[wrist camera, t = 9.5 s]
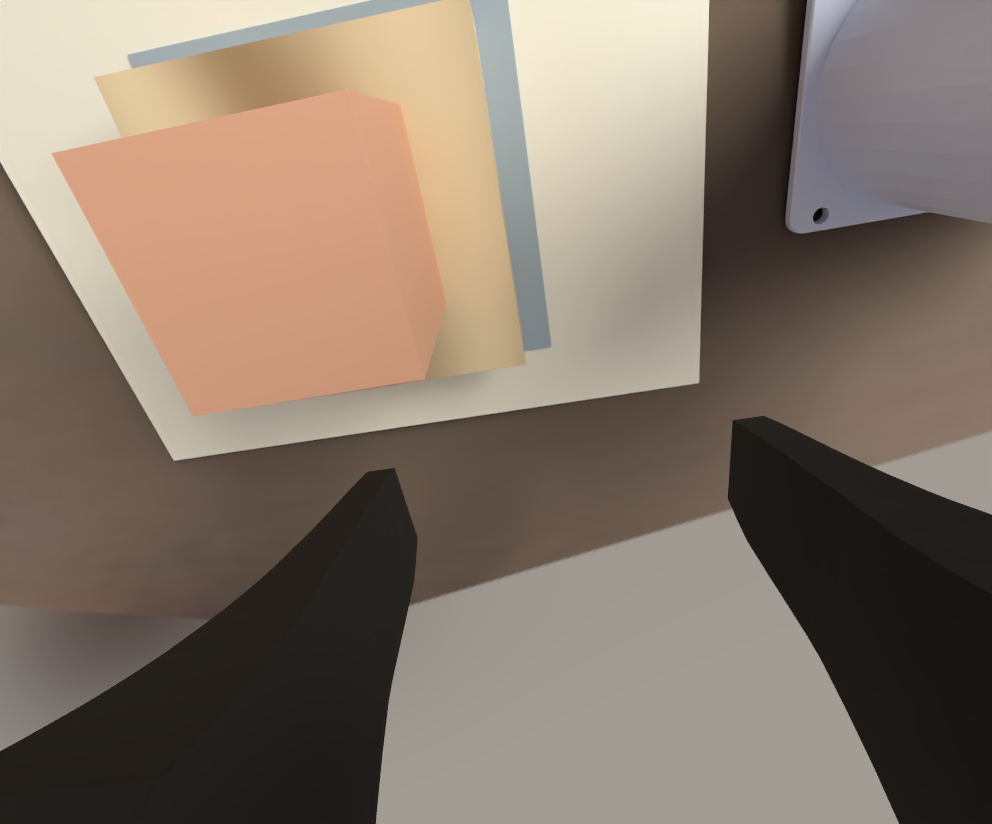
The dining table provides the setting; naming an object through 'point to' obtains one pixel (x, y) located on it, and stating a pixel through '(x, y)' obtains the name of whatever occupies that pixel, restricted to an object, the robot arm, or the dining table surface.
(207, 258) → the terracotta cube
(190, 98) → the oak base brick
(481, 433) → the dining table surface
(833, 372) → the dining table surface
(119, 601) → the dining table surface
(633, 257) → the board
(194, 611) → the dining table surface
